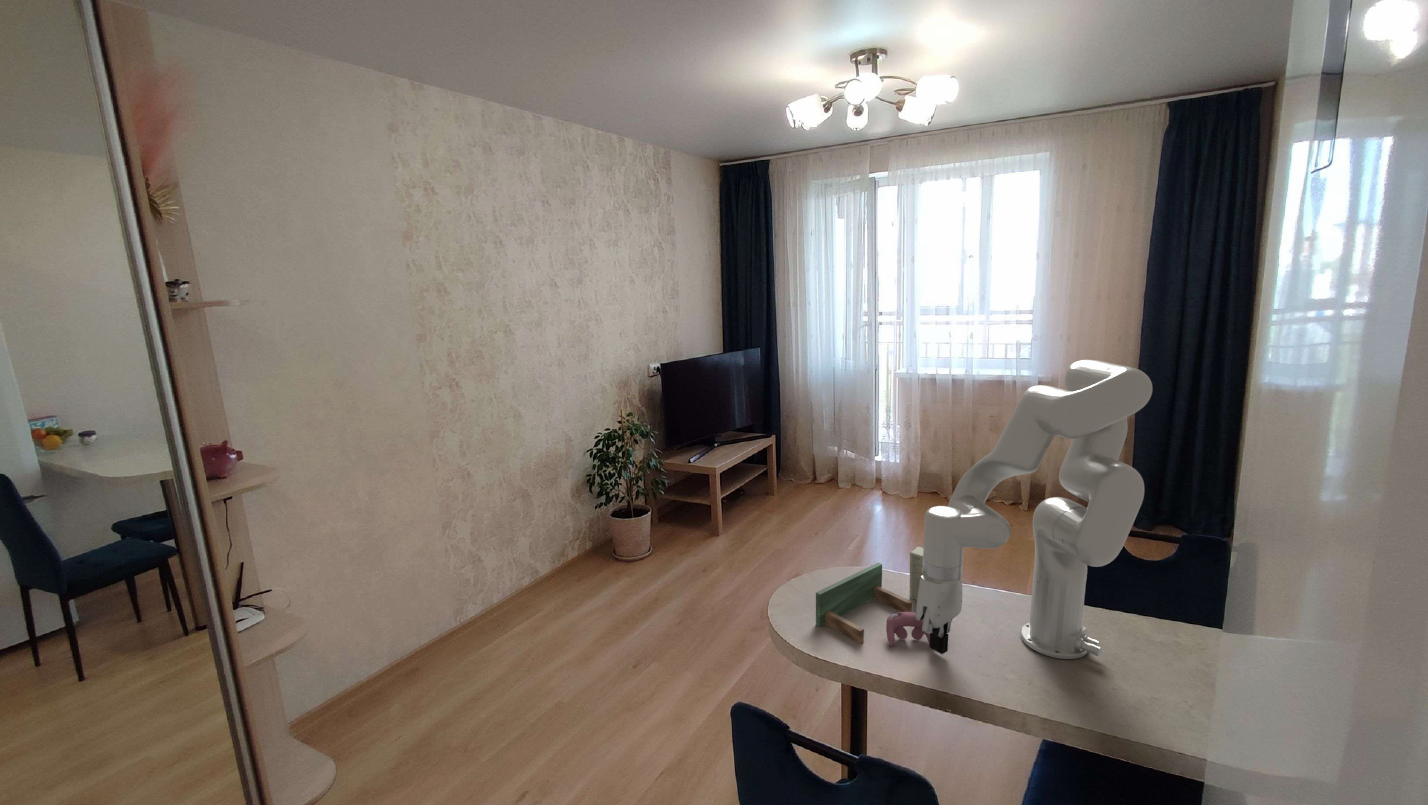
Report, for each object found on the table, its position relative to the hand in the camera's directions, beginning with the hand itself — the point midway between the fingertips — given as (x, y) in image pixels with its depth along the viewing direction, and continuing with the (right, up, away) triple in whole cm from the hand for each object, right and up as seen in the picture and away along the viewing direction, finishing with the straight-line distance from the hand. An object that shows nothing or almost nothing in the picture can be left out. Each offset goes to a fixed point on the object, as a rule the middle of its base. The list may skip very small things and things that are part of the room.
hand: (938, 649), depth 129 cm
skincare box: (+4, +3, +22) cm, 23 cm away
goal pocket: (-11, +2, +14) cm, 18 cm away
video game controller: (-4, 0, +5) cm, 7 cm away
